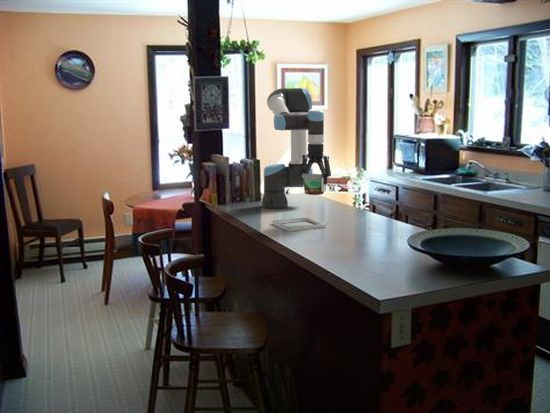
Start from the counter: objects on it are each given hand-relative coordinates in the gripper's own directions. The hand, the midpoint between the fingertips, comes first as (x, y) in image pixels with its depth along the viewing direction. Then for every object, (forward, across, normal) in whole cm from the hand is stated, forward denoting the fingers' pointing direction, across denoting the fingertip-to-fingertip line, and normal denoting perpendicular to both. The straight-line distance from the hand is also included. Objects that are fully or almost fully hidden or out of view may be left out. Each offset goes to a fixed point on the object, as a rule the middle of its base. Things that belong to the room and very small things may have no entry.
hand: (315, 190), depth 291 cm
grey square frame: (+16, -2, -12) cm, 20 cm away
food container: (+2, 0, 0) cm, 2 cm away
